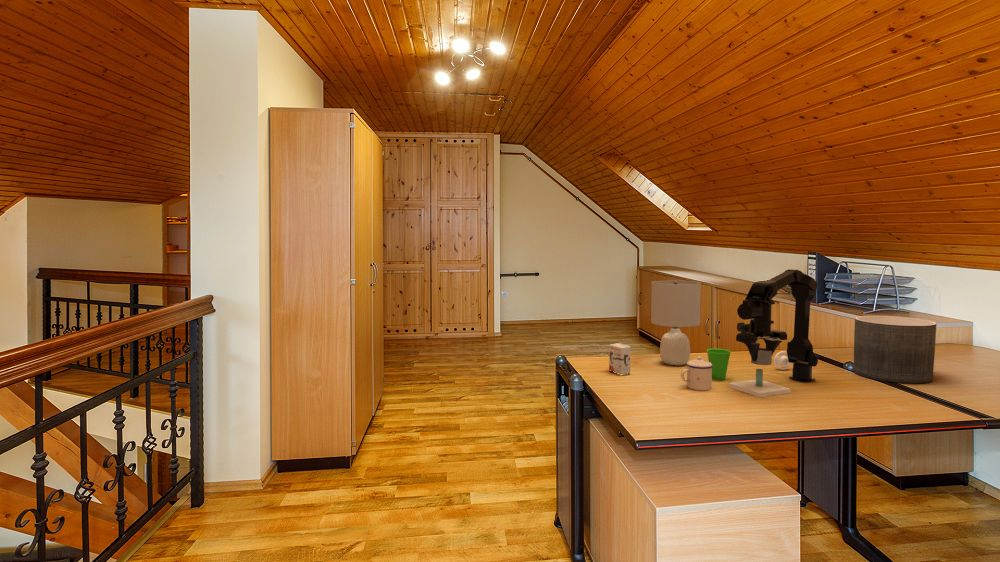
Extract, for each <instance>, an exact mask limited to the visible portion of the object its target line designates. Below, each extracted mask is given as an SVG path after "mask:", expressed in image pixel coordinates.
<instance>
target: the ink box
mask: <svg viewBox="0 0 1000 562" xmlns="http://www.w3.org/2000/svg"><path fill="white" fill-rule="evenodd" d="M631 349H632V347H631V346H630V345H626V344H624V343H620V342H616V343H611V344H609V351H608V353H609V356H608V358H609V359H608V360H609V361H608V371H609V370H611V371H614V372H616V373H619V374H627V373H630V374H631V351H632V350H631Z"/></svg>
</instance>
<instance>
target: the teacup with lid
mask: <svg viewBox="0 0 1000 562" xmlns="http://www.w3.org/2000/svg"><path fill="white" fill-rule="evenodd" d="M712 367H713V366H712V364H711V363H710V362H709V361H707V360H706V359H703V356H700V355H698V356H696V358H694V359H692V360H689V361H688V362H687V363H686V368H684V369H683V370H682V371H681V372H680V378H681V380H682V382H685V383H686V387H687V388H689V389H690V390H695V391H709V390H711V389H712V386H713V385H712V384H713V383H712V381H713V379H712ZM685 374H686V378H685Z"/></svg>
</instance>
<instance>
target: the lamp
mask: <svg viewBox="0 0 1000 562" xmlns="http://www.w3.org/2000/svg"><path fill="white" fill-rule="evenodd" d="M701 285H702V284H701V282H700V281H692V280H655V281H651V306H650V307H651V309H650V310H651V311H650V313H651V316H650V317H651V319H650V322H651V324H653V325H656V326H662V327H671V328H670V330H669V331H668V332H665V333H664V334H662V337H661V341H660V344H659V345H660V347H659V355H660V359H661V361H662V362H663V363H665V364H666V365H670V366H674V365H675V366H676V367H677V366H684V365H685V364H687V362H688V361H690V359H691V358H690V357H691V346H690V345H691V344H690V340H689V338H688V335H687V334H685V333H683V332H682V331H681V329H680V328H686V327H689V328H690V327H697V326H699V325H701V294H702V293H701V291H702V290H701V288H702V287H701Z"/></svg>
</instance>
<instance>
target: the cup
mask: <svg viewBox="0 0 1000 562" xmlns="http://www.w3.org/2000/svg"><path fill="white" fill-rule="evenodd" d="M705 352H707V359H708V362H710V363H711V364H712V366H713V367H712V380H716V381H724V380H725V379H726V377H727V372H728V367H729V363H730V362H729V361H730V356H731V354H732V351H731V350H729V349H725V348H724V349H723V348H707V349H706V351H705Z"/></svg>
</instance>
